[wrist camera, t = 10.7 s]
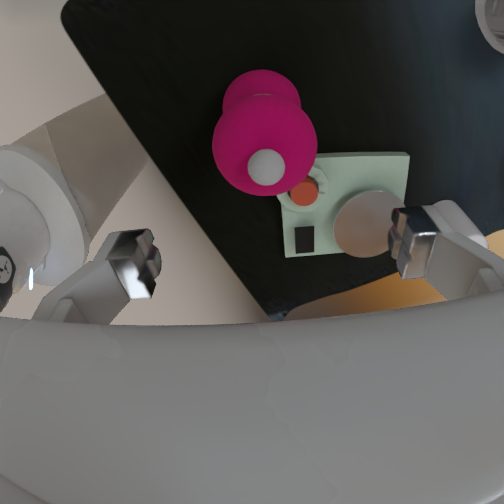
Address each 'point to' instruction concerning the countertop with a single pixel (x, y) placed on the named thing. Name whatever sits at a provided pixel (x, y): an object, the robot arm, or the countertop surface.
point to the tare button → (304, 192)
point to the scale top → (357, 225)
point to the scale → (340, 192)
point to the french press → (491, 21)
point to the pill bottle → (460, 221)
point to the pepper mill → (263, 135)
